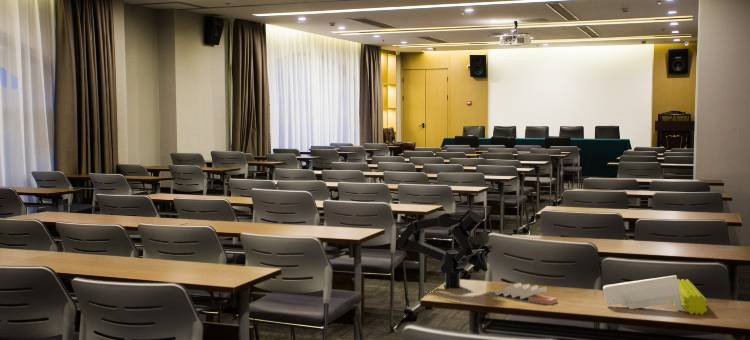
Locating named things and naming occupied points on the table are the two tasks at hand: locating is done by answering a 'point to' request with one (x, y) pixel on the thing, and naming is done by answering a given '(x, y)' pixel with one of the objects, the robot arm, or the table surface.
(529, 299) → the tile end
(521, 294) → the tile
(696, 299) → the decorative object
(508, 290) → the tile
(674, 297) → the shelf bracket
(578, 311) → the table surface
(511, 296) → the grey serrated plate
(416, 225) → the robot arm
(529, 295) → the tile
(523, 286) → the tile
